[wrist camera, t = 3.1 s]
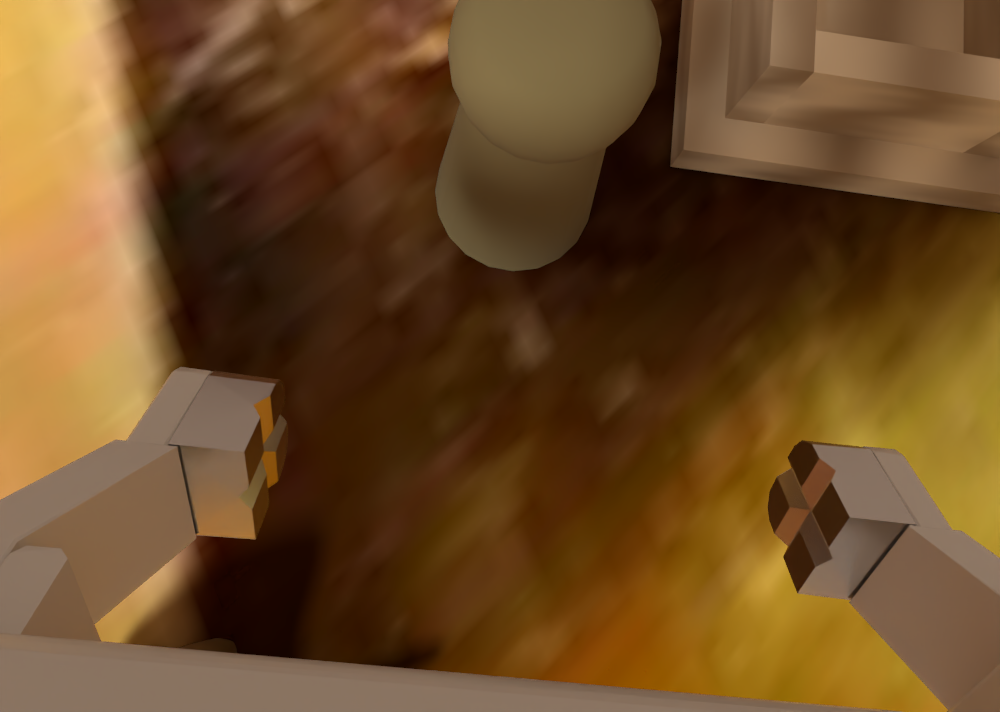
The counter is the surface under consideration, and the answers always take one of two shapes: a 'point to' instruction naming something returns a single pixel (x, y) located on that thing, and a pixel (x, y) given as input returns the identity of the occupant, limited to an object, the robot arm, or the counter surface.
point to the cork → (538, 119)
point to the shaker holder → (844, 96)
